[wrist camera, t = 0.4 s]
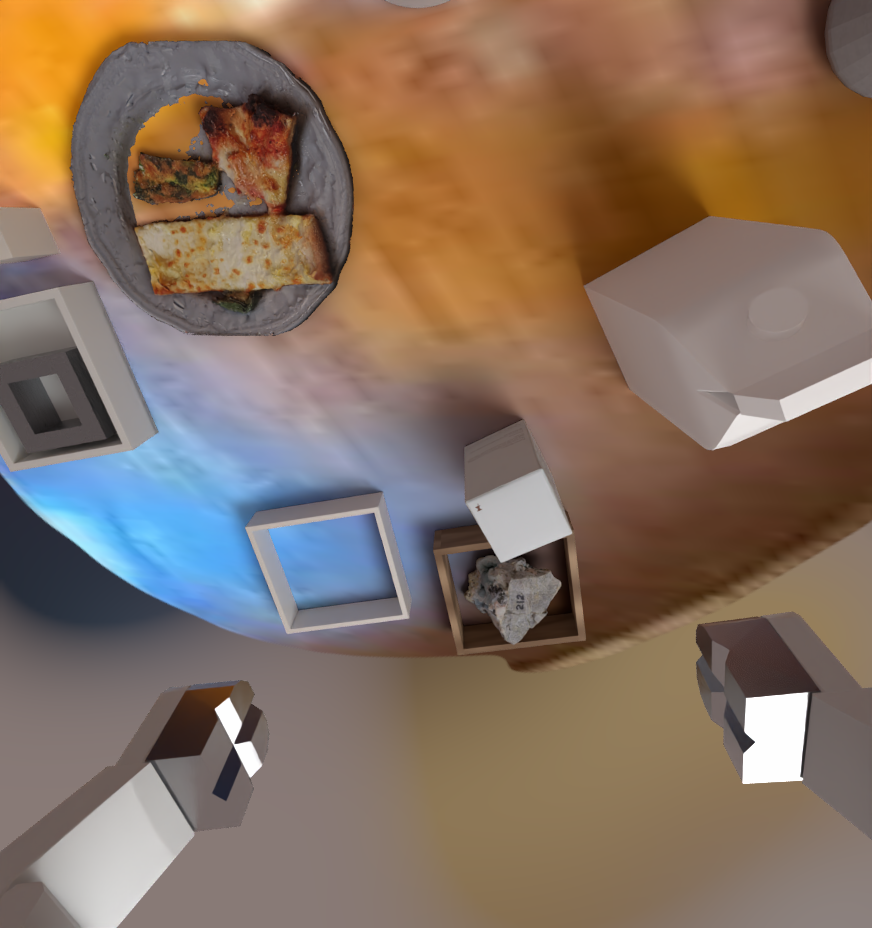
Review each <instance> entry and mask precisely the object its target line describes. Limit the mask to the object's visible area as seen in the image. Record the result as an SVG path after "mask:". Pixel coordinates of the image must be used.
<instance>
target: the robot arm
mask: <svg viewBox="0 0 872 928" xmlns="http://www.w3.org/2000/svg"><path fill="white" fill-rule="evenodd" d="M385 1H387V2H389V3H392V4H395V5H399V6H403V7H409V8H425V7H432V6H436V5H439V4H443V3H445V2H447V1H450V0H385ZM696 643H697V645H698V647H699V649H700V651H701V653H702V656H701V657H700V658H699V659H698V661H697V662H696V669H697V680H698V685H699V689H700V694H701V697H702V699H703V702H704V705H705V707H706V709H707V712H708V714H709V716H710V718H711V720H712V721H713V722H715V723H716V724H718V725H719V726H721V727H722V728H723V729H724V747H725V749H726V751H727V752H728V755H729V757H730V759H731V761H732V762H733V765H734V766H735V768H736V771H737V773H738V774H739V776H740V778H741V780H742V782H743V783H757V782H775V781H793V780H802V783H803V784H804V785H805V786H807V787H808V788H809V789H811V790H812V791H813V792H814V793H815V794H817V795H818V796H819V797H820V798H821V799H823V800H824V801H825V802H826V803H828V804H829V805H830V806H831V807H833V808H834V809H835V810H836V811H837V812H839V813H840V814H841V815H842V816H844V817H845V818H846V819H847V820H848V821H850V822H851V823H852V824H853V825H854V826H856V827H857V828H858V829H859V830H861V831H862V832H863V833H865V834H866V835H867V836H868V837H869V838H870V839H872V688H862V687H861V686H860V685H859V684H858V683H857V682H856V681H855V679H854V678H853V677H852V676H851V675H850V674H849V672H848V671H847V670H846V669H845V668H844V666H843V665H842V664H841V663H840V662H839V661H838V659H837V658H836V657H835V656H834V655H833V654H832V652H831V651H830V650H829V649H828V648H827V647H826V645H825V644H824V643H823V642H822V641H821V639H820V638H819V637H818V636H817V635H816V634H815V632H814V631H813V630H812V629H811V628H810V627H809V626H808V624H807V623H806V622H805V621H804V620H803V618H802V617H801V616H800V615H798V614H796V613H795V612H786V613H779V614H772V615H765V616H761V617H751V618H743V619H736V620H728V621H720V622H712V623H705V624H699V625H698V627H697V629H696ZM254 695H255V694H254V692H253V690H252V688H251V686H250V684H249V682H248V681H242V680H238V681H228V682H217V683H207V684H196V685H192V686H181V687H170V688H168V689H167V690H165V691H164V692H162V693H161V694H160V696H159V698H158V699H157V701H156V702H155V704H154V706H153V707H152V709H151V710H150V712H149V713H148V715H147V716H146V718H145V720H144V721H143V723H142V724H141V726H140V727H139V729H138V731H137V732H136V734H135V735H134V737H133V738H132V740H131V742H130V743H129V745H128V746H127V748H126V749H125V751H124V753H123V754H122V756H121V757H120V759H119V761H118V762H117V763H116V765H115V766H109V767H106V768H105V769H104V770H102V771H101V772H100V773H99V774H97V775H96V776H95V777H94V778H92V779H91V780H90V781H89V782H87V783H86V784H85V785H84V786H82V787H81V788H80V789H79V790H77V791H76V792H75V793H73V794H72V795H71V796H70V797H69V798H67V799H66V800H65V801H63V802H62V803H61V804H60V805H58V806H57V807H56V808H55V809H53V810H52V811H51V812H50V813H48V814H47V815H46V816H45V817H43V818H42V819H41V820H40V821H38V822H37V823H36V824H35V825H33V826H32V827H31V828H29V829H28V830H27V831H26V832H25V833H23V834H22V835H21V836H19V837H18V838H17V839H16V840H14V841H13V842H12V843H11V844H9V845H8V846H7V847H6V848H4V849H3V850H2V851H1V852H0V928H117V926H118V925H119V924H120V923H121V922H122V920H123V919H124V918H125V917H126V916H127V914H128V913H129V912H130V911H131V910H132V909H133V907H134V906H135V905H136V904H137V902H138V901H139V900H140V899H141V898H142V897H143V896H144V894H145V893H146V892H147V891H148V890H149V888H150V887H151V886H152V885H153V884H154V882H155V881H156V880H157V879H158V878H159V876H160V875H161V874H162V873H163V872H164V871H165V869H166V868H167V867H168V866H169V865H170V863H171V862H172V861H173V860H174V859H175V857H176V856H177V855H178V854H179V853H180V851H181V850H182V849H183V848H184V847H185V846H186V844H187V843H188V842H189V841H190V840H191V838H192V837H193V836H194V834H195V833H194V831H204V830H212V829H221V828H229V827H237V826H240V825H241V822H242V819H243V817H244V814H245V811H246V809H247V806H248V803H249V800H250V798H251V795H252V793H253V790H254V788H253V785H252V782H251V779H250V777H251V776H252V775H253V774H254V773H255V772H256V771H257V770H258V769H259V768H260V767H261V766H262V765H263V762H264V759H265V756H266V753H267V750H268V740H269V729H268V724H267V720H266V718H265V715H264V713H263V711H262V710H260V709H259V708H257V707H255V706H254V705H253V704H251V702H252V700H253V697H254Z"/></svg>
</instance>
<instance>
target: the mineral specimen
mask: <svg viewBox="0 0 872 928" xmlns="http://www.w3.org/2000/svg"><path fill="white" fill-rule="evenodd" d="M476 568H477V569H476V570H475V571H474V572H472V573H470V574H469V575H468V577H469V581H468V582H469V586H468V587H469V590H467V591H466V592H465V594H464V596H465V598H466V599H467V600H468V601H470V602H472V603H474V604H475V605H476V607H477V608H478V609H479V610H480V611H481V612H482V613H487V614H488V615H489V616H490V618H491V620H492V622H493V624H494V626H495V627H496V628H497V629H498V630H499V632H500V633H501V635H502V637H504V640H506V641H507V642H509V643H511V644H512V645H515V644H516V643H518V642H519V641H520V640H521V639H522V638H523V637H524V635H525V634H526V633H527V631H528V630H529V628H533V627H534V626H535V625H536V624H538V623H539V622H540V621H541V620H542V619H543V618H544V617H545V616H546V614H547V613H548V612H547V610H546V609H547V607H548V605H549V603H550V601H551V600H552V599H553V598H554V596H555V595H556V593H557V592H558V590H559V589H560V587H561V582H560V580H558V579H556V578H554V577H553V575H552V573H551V571H550V570H548V569H536V568H533V567H532V566H531V565H529V564H528V563H526V561H525V559H524V558H522V557H520V558H515V557H514V558H512V559H509V560H507V561H505V562H502V563H501V562H500V561H499V559H498V557H497V556H493V555H490V556H486V557H482V558H479V559H478V560H477V561H476Z"/></svg>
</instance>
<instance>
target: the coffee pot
mask: <svg viewBox="0 0 872 928" xmlns="http://www.w3.org/2000/svg"><path fill="white" fill-rule="evenodd" d="M825 43H826V54H827V57H828V60H829V62H830V65H831V68H832V70H833V72H834V73H835V75H836V76H837V77H838V78H839V79H840V81H841V82H842V83H843V84H844V85H845V86H846V87H847V88H849V89H851V90H853V91H854V92H856V93H858V94H860V95H861V96H863V97H869V98H872V0H832V1H831V3H830V6H829V9H828V14H827V21H826V27H825Z"/></svg>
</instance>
